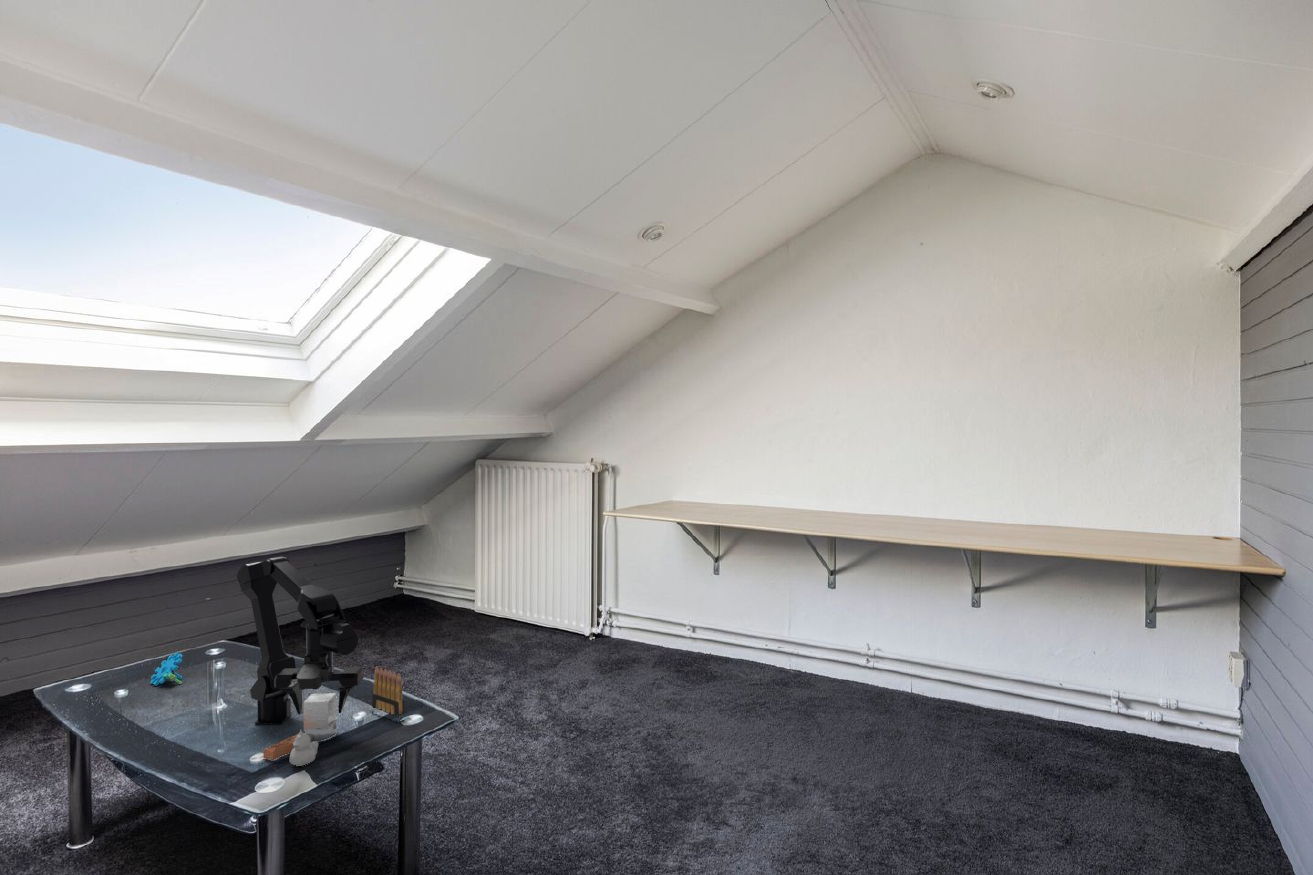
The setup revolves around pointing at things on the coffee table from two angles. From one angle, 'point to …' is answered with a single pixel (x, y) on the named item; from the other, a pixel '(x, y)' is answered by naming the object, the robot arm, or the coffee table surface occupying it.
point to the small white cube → (319, 710)
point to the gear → (168, 670)
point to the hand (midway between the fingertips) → (320, 713)
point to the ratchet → (287, 744)
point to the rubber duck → (303, 750)
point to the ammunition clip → (387, 692)
